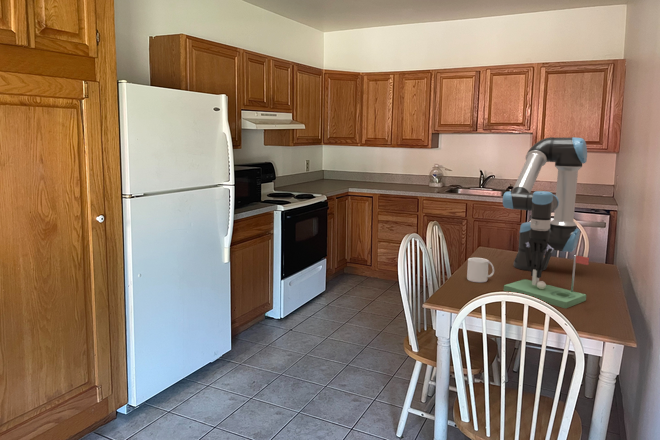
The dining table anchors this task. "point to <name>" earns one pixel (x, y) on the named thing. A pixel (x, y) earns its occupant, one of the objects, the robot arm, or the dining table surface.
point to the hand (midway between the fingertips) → (535, 284)
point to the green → (547, 293)
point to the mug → (478, 269)
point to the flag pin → (576, 260)
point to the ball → (541, 285)
